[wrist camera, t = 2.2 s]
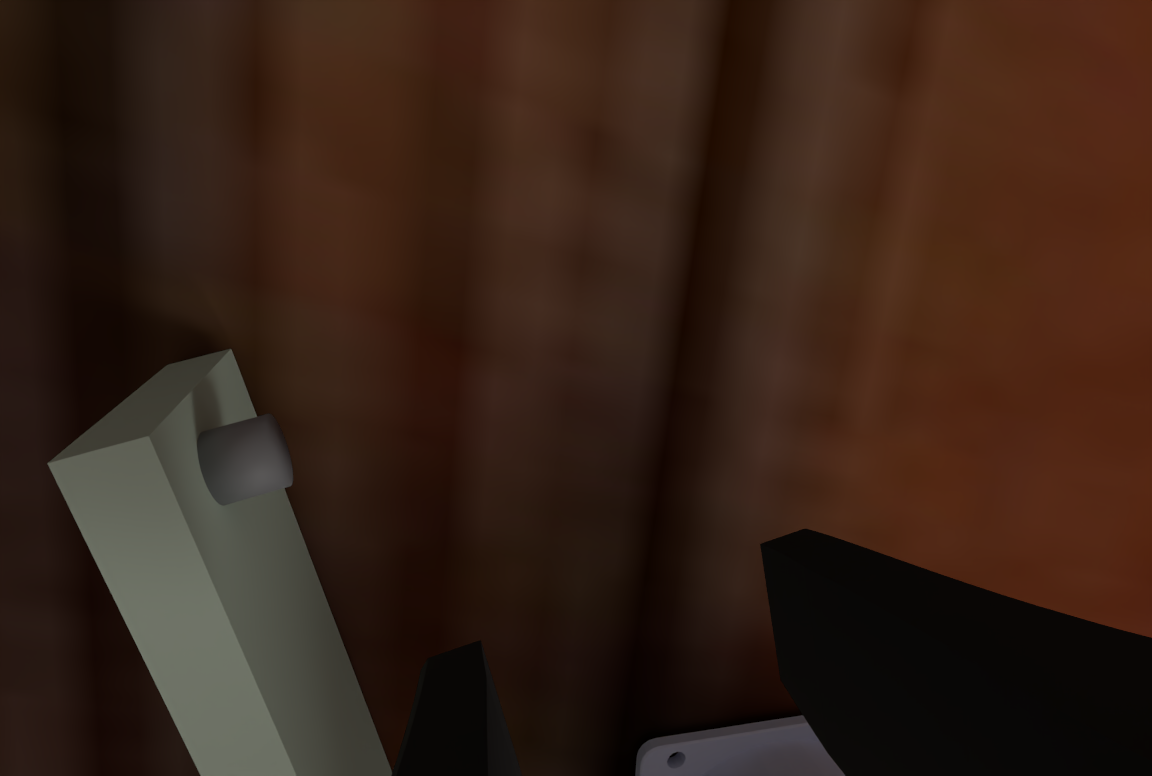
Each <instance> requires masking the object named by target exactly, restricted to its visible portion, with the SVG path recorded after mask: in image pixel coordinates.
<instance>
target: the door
mask: <svg viewBox="0 0 1152 776" xmlns="http://www.w3.org/2000/svg"><path fill="white" fill-rule="evenodd" d="M47 464H48V466H49V468H50V470H51V472H52V474H53V476H54V478H55V480H56V482H57V484H58V486H59V488H60V490H61V492H62V494H63V496H64V498H65V500H66V502H67V504H68V506H69V508H70V511H71V513H72V515H73V517H74V519H75V521H76V523H77V525H78V527H79V529H80V531H81V533H82V535H83V537H84V539H85V541H86V543H87V545H88V547H89V549H90V551H91V553H92V555H93V557H94V559H95V561H96V563H97V566H98V568H99V570H100V572H101V574H102V576H103V578H104V580H105V582H106V584H107V586H108V588H109V590H110V592H111V594H112V596H113V598H114V600H115V602H116V604H117V606H118V608H119V610H120V612H121V614H122V616H123V618H124V621H125V623H126V625H127V627H128V629H129V631H130V633H131V635H132V637H133V639H134V641H135V643H136V645H137V647H138V649H139V651H140V653H141V655H142V657H143V659H144V661H145V663H146V665H147V667H148V669H149V671H150V673H151V676H152V678H153V680H154V682H155V684H156V686H157V688H158V690H159V692H160V694H161V696H162V698H163V700H164V702H165V704H166V706H167V708H168V710H169V712H170V714H171V716H172V718H173V720H174V722H175V724H176V726H177V728H178V731H179V733H180V735H181V737H182V739H183V741H184V743H185V745H186V747H187V749H188V751H189V753H190V755H191V757H192V759H193V761H194V763H195V765H196V767H197V769H198V771H199V773H200V775H201V776H391V775H392V771H391V768H390V765H389V763H388V760H387V757H386V755H385V752H384V750H383V747H382V744H381V742H380V739H379V736H378V734H377V731H376V728H375V726H374V723H373V721H372V718H371V715H370V713H369V710H368V707H367V705H366V702H365V699H364V697H363V694H362V692H361V689H360V686H359V684H358V681H357V678H356V676H355V673H354V671H353V668H352V665H351V663H350V660H349V657H348V655H347V652H346V649H345V647H344V644H343V642H342V639H341V636H340V634H339V631H338V628H337V626H336V623H335V621H334V618H333V615H332V613H331V610H330V607H329V605H328V602H327V599H326V597H325V594H324V592H323V589H322V586H321V584H320V581H319V578H318V576H317V573H316V571H315V568H314V565H313V563H312V560H311V557H310V555H309V552H308V549H307V547H306V544H305V542H304V539H303V536H302V534H301V531H300V528H299V526H298V523H297V520H296V518H295V515H294V513H293V510H292V507H291V505H290V502H289V499H288V497H287V494H286V492H285V489H284V488H286V487H290V486H291V485H292V482H293V469H292V463H291V458H290V454H289V450H288V446H287V443H286V440H285V437H284V435H283V432H282V430H281V428H280V426H279V424H278V422H277V421H276V419H275V418H274V416H273V415H271V414H265V415H261V416H258V417H257V415H256V413H255V410H254V407H253V405H252V402H251V399H250V397H249V394H248V391H247V389H246V386H245V384H244V381H243V378H242V376H241V373H240V370H239V368H238V365H237V363H236V360H235V357H234V355H233V352H232V349H227V350H223V351H220V352H216V353H212V354H208V355H204V356H200V357H196V358H192V359H188V360H184V361H180V362H176V363H172V364H169V365H166V366H165V367H164V368H163V369H161V370H160V371H159V372H158V373H157V374H155V375H154V376H153V377H152V378H151V379H149V380H148V381H147V382H146V383H144V384H143V385H142V386H141V387H140V388H138V389H137V390H136V391H135V392H133V393H132V394H131V395H130V396H129V397H127V398H126V399H125V400H124V401H123V402H121V403H120V404H119V405H118V406H116V407H115V408H114V409H113V410H112V411H110V412H109V413H108V414H107V415H106V416H104V417H103V418H102V419H101V420H99V421H98V422H97V423H96V424H95V425H93V426H92V427H91V428H90V429H89V430H87V431H86V432H85V433H84V434H82V435H81V436H80V437H79V438H78V439H76V440H75V441H74V442H73V443H71V444H70V445H69V446H68V447H67V448H65V449H64V450H63V451H62V452H61V453H59V454H58V455H57V456H56V457H54V458H53V459H52V460H51V461H50V462H48V463H47Z"/></svg>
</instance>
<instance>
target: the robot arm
mask: <svg viewBox="0 0 1152 776" xmlns="http://www.w3.org/2000/svg"><path fill="white" fill-rule="evenodd" d="M760 545H761V552H762V559H763V565H764V572H765V579H766V586H767V592H768V599H769V606H770V612H771V619H772V626H773V633H774V639H775V646H776V653H777V660H778V666H779V673H780V679H781V681H782V683H783V684H784V686H785V687H786V689H787V691H788V692H789V694H790V695H791V697H792V699H793V700H794V702H795V703H796V705H797V707H798V708H799V710H800V711H801V713H802V715H801V716H795V717H788V718H782V719H775V720H769V721H762V722H756V723H749V724H743V725H736V726H730V727H723V728H717V729H710V730H704V731H697V732H691V733H684V734H678V735H671V736H665V737H658V738H654V739H651V740H648V741H647V742H645V743H644V744H643V745H642V746H641V748H640V749H639V750H638V754H637V760H636V773H635V776H1152V638H1150V637H1146V636H1142V635H1138V634H1135V633H1131V632H1127V631H1123V630H1119V629H1116V628H1112V627H1108V626H1105V625H1101V624H1098V623H1094V622H1091V621H1087V620H1084V619H1081V618H1077V617H1074V616H1070V615H1067V614H1063V613H1060V612H1056V611H1053V610H1050V609H1046V608H1043V607H1039V606H1036V605H1033V604H1029V603H1026V602H1023V601H1020V600H1017V599H1014V598H1010V597H1007V596H1004V595H1001V594H998V593H995V592H992V591H989V590H986V589H982V588H979V587H976V586H973V585H970V584H967V583H964V582H962V581H959V580H956V579H953V578H950V577H947V576H944V575H941V574H938V573H935V572H932V571H929V570H927V569H924V568H921V567H918V566H915V565H912V564H909V563H907V562H904V561H901V560H898V559H895V558H892V557H890V556H887V555H884V554H881V553H878V552H875V551H873V550H870V549H867V548H864V547H861V546H858V545H855V544H853V543H850V542H847V541H844V540H841V539H838V538H835V537H832V536H829V535H826V534H822V533H819V532H816V531H812V530H809V529H802V530H799V531H797V532H794V533H791V534H788V535H785V536H782V537H779V538H776V539H773V540H770V541H767V542H765V543H762V544H760ZM675 752H678V753H677V754H676V755H675V756H673V757H670V756H671V755H672V754H673V753H675ZM669 757H670V758H669ZM391 776H522V774H521V770H520V767H519V764H518V761H517V757H516V754H515V751H514V747H513V744H512V741H511V738H510V734H509V731H508V728H507V725H506V721H505V718H504V715H503V711H502V708H501V705H500V702H499V698H498V695H497V692H496V689H495V685H494V682H493V679H492V675H491V672H490V669H489V666H488V662H487V659H486V656H485V653H484V649H483V646H482V643H481V640H480V641H477V642H474V643H471V644H468V645H465V646H462V647H459V648H456V649H454V650H451V651H448V652H445V653H442V654H439V655H436V656H433V657H430V658H428V659H427V661H426V663H425V664H424V666H423V667H422V669H421V672H420V677H419V682H418V686H417V690H416V694H415V698H414V703H413V706H412V710H411V714H410V717H409V721H408V724H407V728H406V731H405V735H404V738H403V741H402V744H401V748H400V751H399V754H398V758H397V761H396V764H395V767H394V769H393V772H392V775H391Z"/></svg>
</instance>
